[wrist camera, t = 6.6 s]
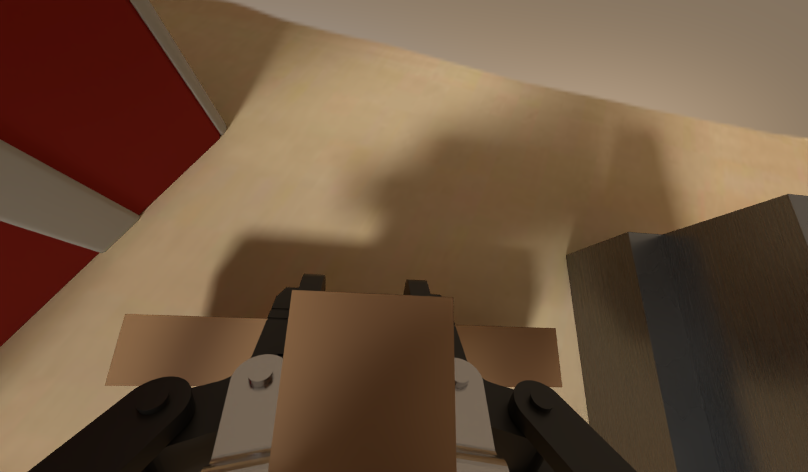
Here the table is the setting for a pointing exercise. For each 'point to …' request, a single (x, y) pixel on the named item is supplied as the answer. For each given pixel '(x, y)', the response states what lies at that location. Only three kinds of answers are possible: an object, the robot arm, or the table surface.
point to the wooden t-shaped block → (346, 374)
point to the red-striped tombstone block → (86, 136)
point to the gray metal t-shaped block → (700, 341)
